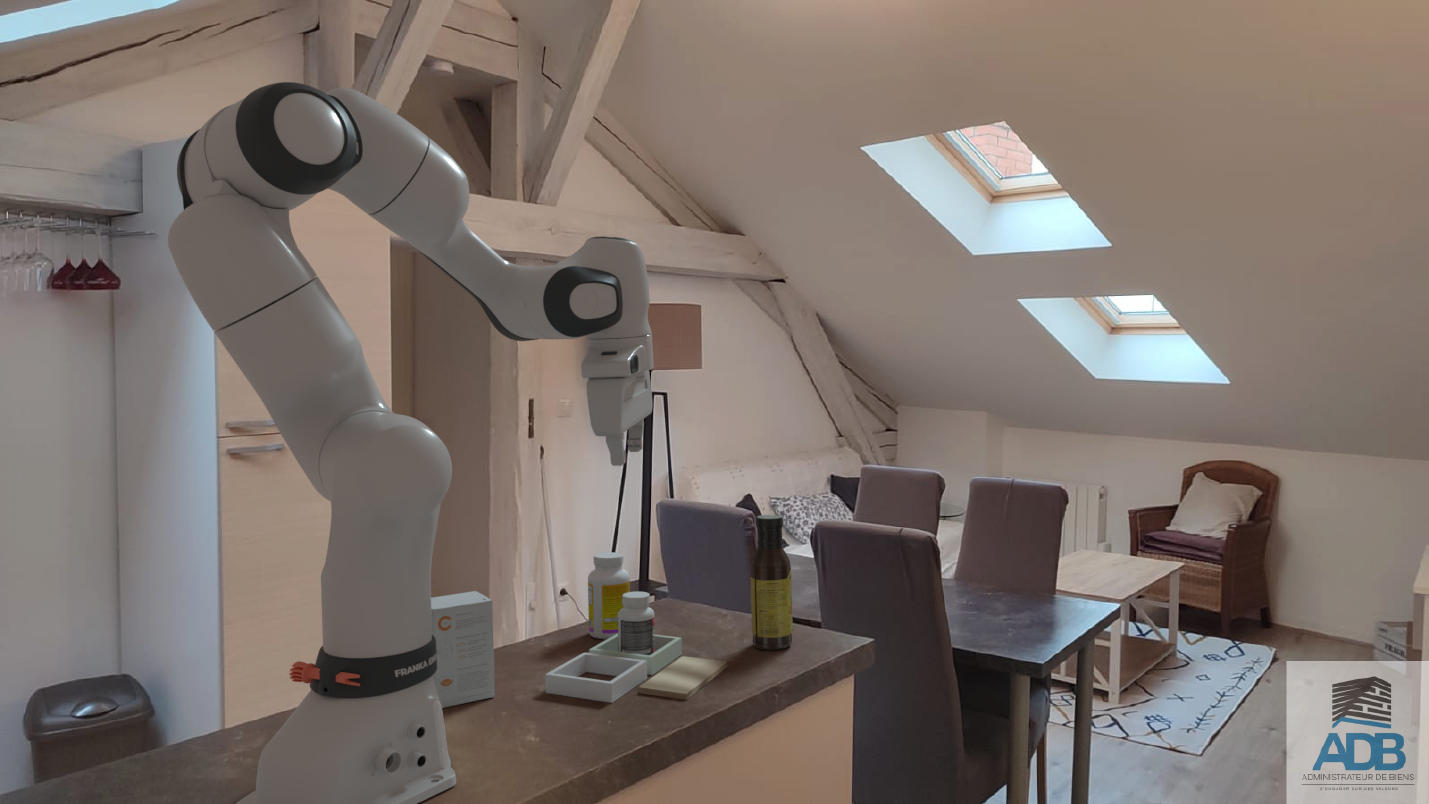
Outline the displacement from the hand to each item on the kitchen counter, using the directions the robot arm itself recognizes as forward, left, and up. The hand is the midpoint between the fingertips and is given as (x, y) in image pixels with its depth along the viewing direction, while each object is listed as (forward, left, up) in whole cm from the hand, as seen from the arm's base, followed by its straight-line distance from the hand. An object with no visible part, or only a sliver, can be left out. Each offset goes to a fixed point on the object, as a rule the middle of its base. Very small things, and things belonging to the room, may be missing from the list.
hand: (627, 457), depth 133 cm
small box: (-16, +17, -31) cm, 39 cm away
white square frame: (-5, +2, -31) cm, 31 cm away
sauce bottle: (+20, -14, -31) cm, 39 cm away
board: (+1, -8, -31) cm, 32 cm away
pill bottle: (+6, +2, -31) cm, 31 cm away
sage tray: (+6, +2, -31) cm, 31 cm away
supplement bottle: (+16, +12, -31) cm, 37 cm away
